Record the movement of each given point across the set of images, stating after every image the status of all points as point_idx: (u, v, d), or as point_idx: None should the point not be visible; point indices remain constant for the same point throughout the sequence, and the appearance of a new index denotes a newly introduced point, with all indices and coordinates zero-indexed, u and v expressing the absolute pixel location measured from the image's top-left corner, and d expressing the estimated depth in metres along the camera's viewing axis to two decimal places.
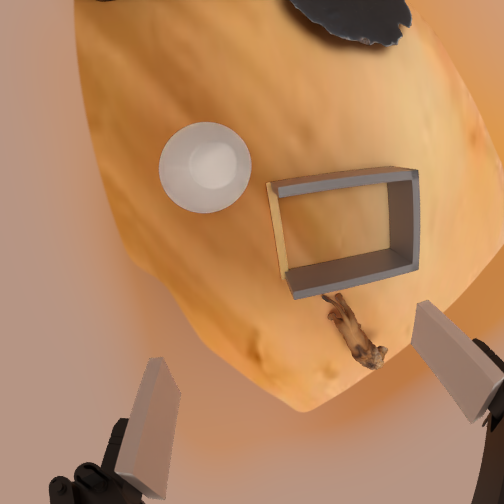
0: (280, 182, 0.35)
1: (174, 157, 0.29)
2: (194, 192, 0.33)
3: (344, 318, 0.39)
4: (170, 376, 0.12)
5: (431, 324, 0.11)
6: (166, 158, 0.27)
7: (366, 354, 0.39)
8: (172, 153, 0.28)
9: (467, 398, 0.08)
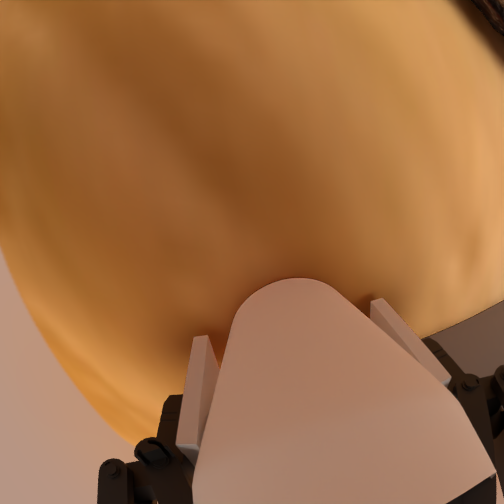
0: None
1: None
2: None
3: None
4: (213, 354, 0.14)
5: (382, 321, 0.12)
6: (194, 471, 0.06)
7: None
8: (206, 428, 0.07)
9: None
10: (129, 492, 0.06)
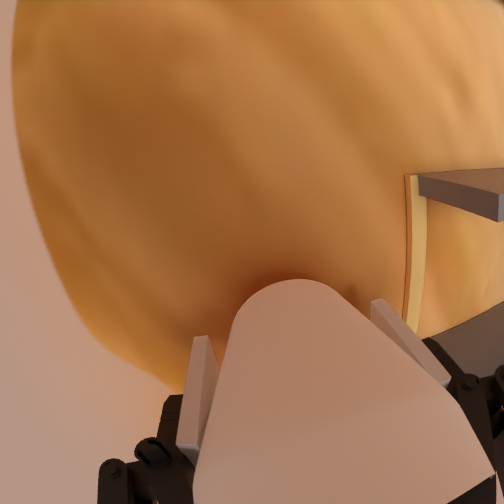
0: (451, 178, 0.12)
1: (209, 415, 0.08)
2: None
3: None
4: (213, 354, 0.14)
5: (382, 321, 0.12)
6: (195, 471, 0.06)
7: None
8: (207, 429, 0.07)
9: None
10: (129, 492, 0.06)
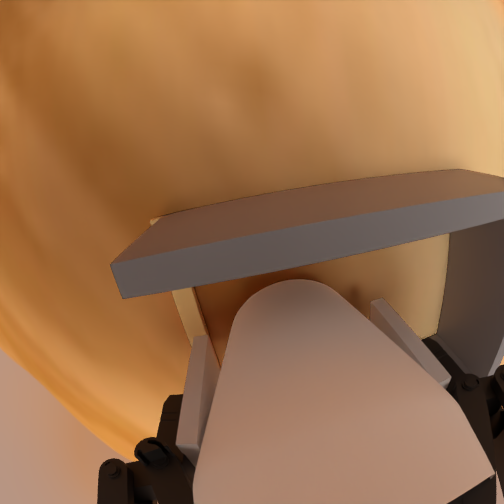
0: (170, 222, 0.12)
1: (209, 415, 0.08)
2: None
3: None
4: (213, 354, 0.14)
5: (382, 321, 0.12)
6: (195, 472, 0.06)
7: None
8: (207, 429, 0.07)
9: None
10: (129, 492, 0.06)
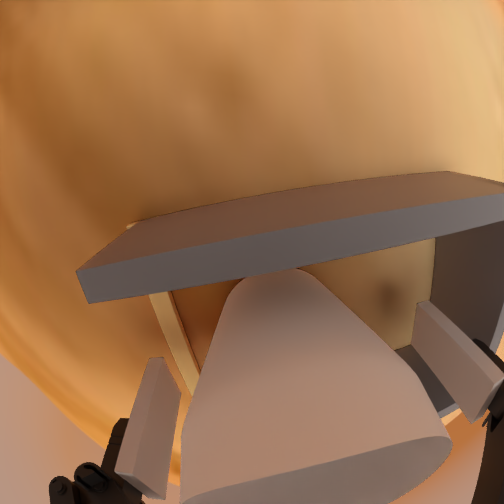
0: (141, 229, 0.12)
1: None
2: None
3: None
4: (170, 376, 0.12)
5: (431, 324, 0.11)
6: (183, 425, 0.08)
7: None
8: (195, 388, 0.09)
9: (467, 398, 0.08)
10: None
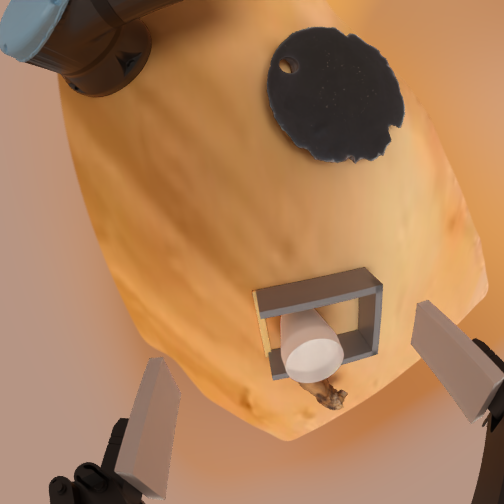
0: (263, 296, 0.43)
1: None
2: None
3: None
4: (170, 376, 0.12)
5: (431, 324, 0.11)
6: (282, 345, 0.39)
7: (326, 400, 0.46)
8: None
9: (467, 398, 0.08)
10: None
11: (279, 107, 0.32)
